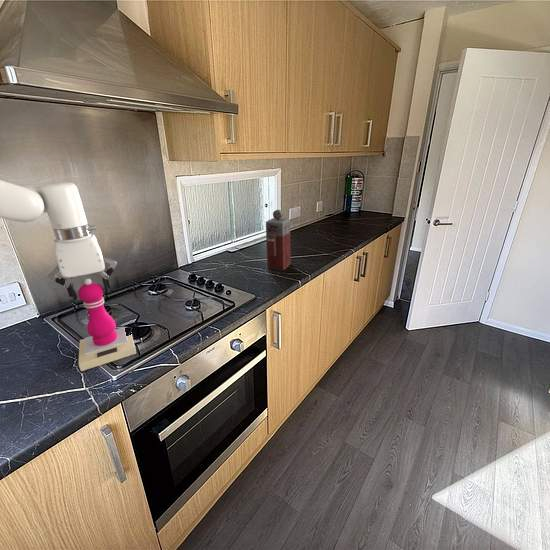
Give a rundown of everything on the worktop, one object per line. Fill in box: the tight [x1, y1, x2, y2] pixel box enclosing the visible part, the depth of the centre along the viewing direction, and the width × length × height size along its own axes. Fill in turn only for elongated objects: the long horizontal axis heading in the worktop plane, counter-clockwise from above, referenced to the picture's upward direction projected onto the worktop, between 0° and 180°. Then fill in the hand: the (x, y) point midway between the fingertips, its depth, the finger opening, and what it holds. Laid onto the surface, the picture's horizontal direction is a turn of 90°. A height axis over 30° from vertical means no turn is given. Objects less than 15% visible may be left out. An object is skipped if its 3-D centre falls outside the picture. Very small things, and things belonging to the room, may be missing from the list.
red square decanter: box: [265, 209, 292, 271], centre depth 140 cm, size 9×11×28 cm
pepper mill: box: [77, 278, 117, 346], centre depth 84 cm, size 7×7×20 cm
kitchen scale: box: [78, 326, 137, 372], centre depth 87 cm, size 14×13×3 cm
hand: (91, 294), depth 82 cm, fingers open, 7 cm apart
